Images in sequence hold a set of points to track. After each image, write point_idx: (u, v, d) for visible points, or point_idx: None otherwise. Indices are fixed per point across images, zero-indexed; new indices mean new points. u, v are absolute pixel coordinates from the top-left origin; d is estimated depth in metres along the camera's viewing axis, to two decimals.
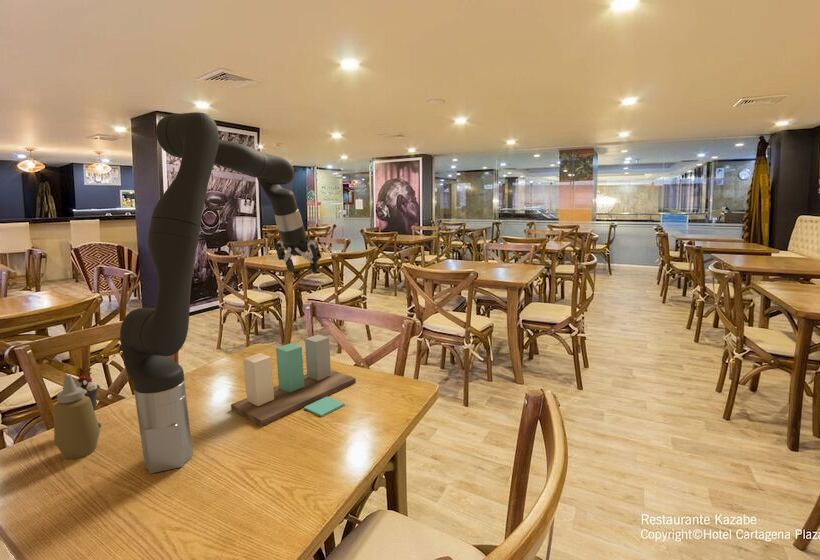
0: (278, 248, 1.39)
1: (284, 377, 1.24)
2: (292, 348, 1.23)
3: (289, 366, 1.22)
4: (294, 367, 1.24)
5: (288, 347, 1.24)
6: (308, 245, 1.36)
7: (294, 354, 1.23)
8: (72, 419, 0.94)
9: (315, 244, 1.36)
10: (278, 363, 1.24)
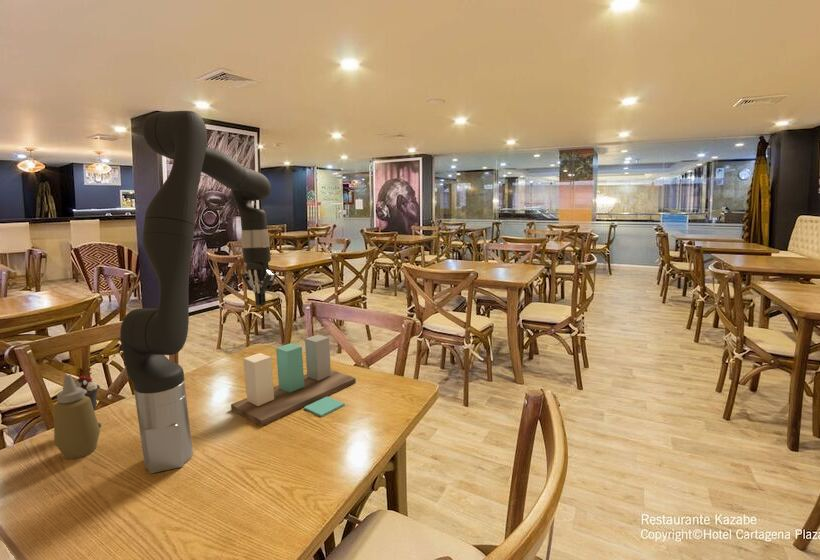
0: (245, 277, 1.30)
1: (284, 377, 1.24)
2: (292, 348, 1.23)
3: (289, 366, 1.22)
4: (294, 367, 1.24)
5: (288, 347, 1.24)
6: (266, 272, 1.26)
7: (294, 354, 1.23)
8: (72, 419, 0.94)
9: (272, 277, 1.26)
10: (278, 363, 1.24)
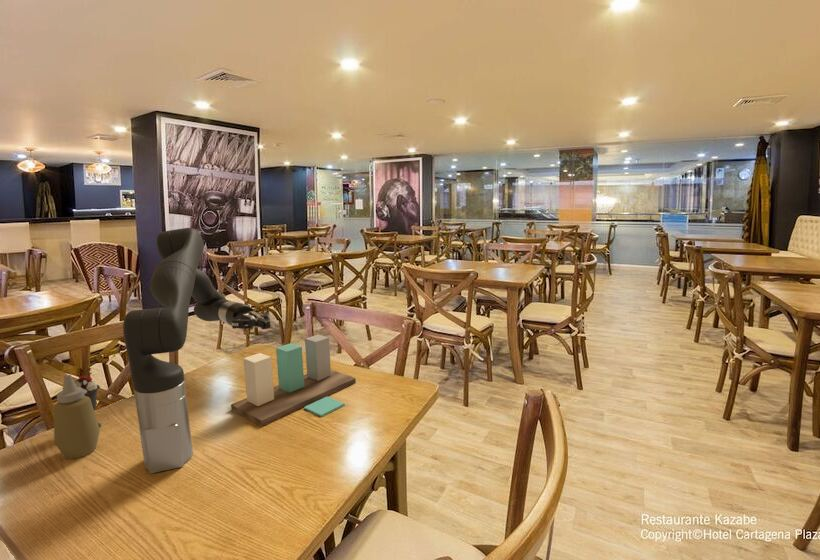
0: (238, 319, 1.31)
1: (284, 377, 1.24)
2: (292, 348, 1.23)
3: (289, 366, 1.22)
4: (294, 367, 1.24)
5: (288, 347, 1.24)
6: (262, 314, 1.39)
7: (294, 354, 1.23)
8: (72, 419, 0.94)
9: None
10: (278, 363, 1.24)
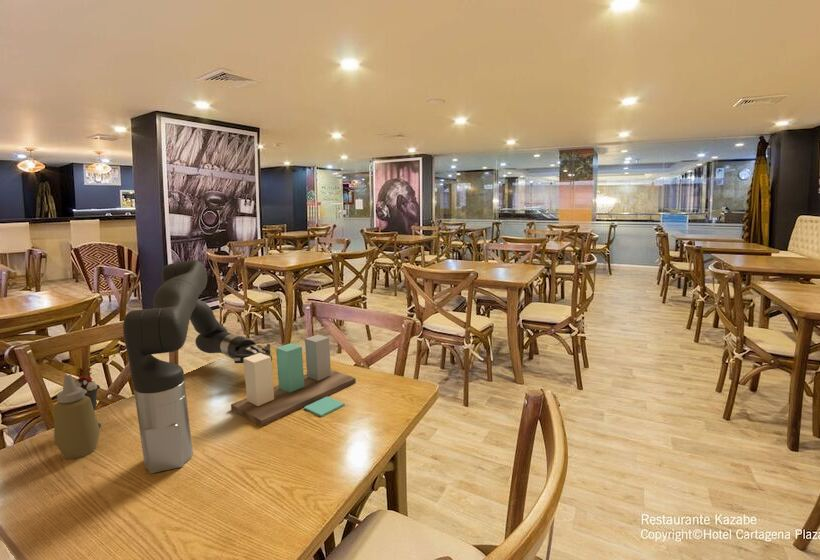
0: (240, 354, 1.33)
1: (284, 377, 1.24)
2: (292, 348, 1.23)
3: (289, 366, 1.22)
4: (294, 367, 1.24)
5: (288, 347, 1.24)
6: (263, 347, 1.41)
7: (294, 354, 1.23)
8: (72, 419, 0.94)
9: (270, 348, 1.41)
10: (278, 363, 1.24)
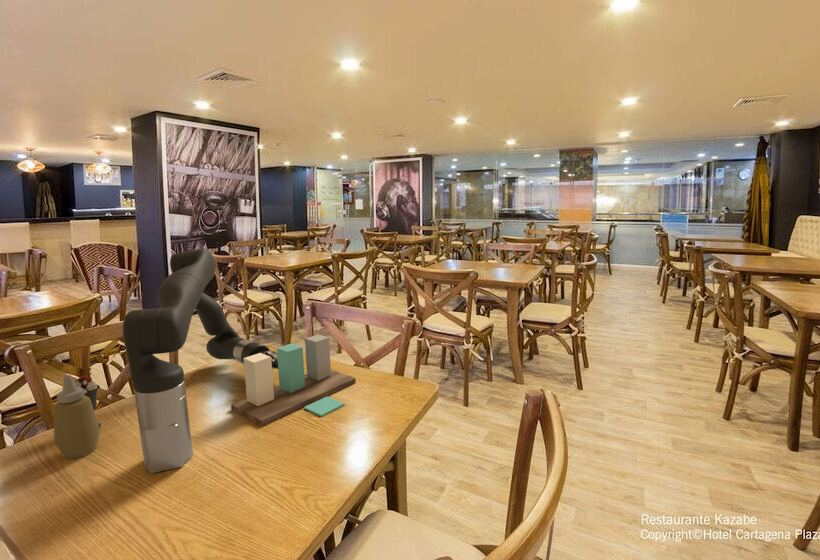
0: None
1: (285, 378, 1.23)
2: (293, 348, 1.23)
3: (290, 366, 1.22)
4: (295, 367, 1.23)
5: (289, 348, 1.24)
6: None
7: (295, 354, 1.23)
8: (72, 419, 0.94)
9: None
10: (279, 363, 1.24)
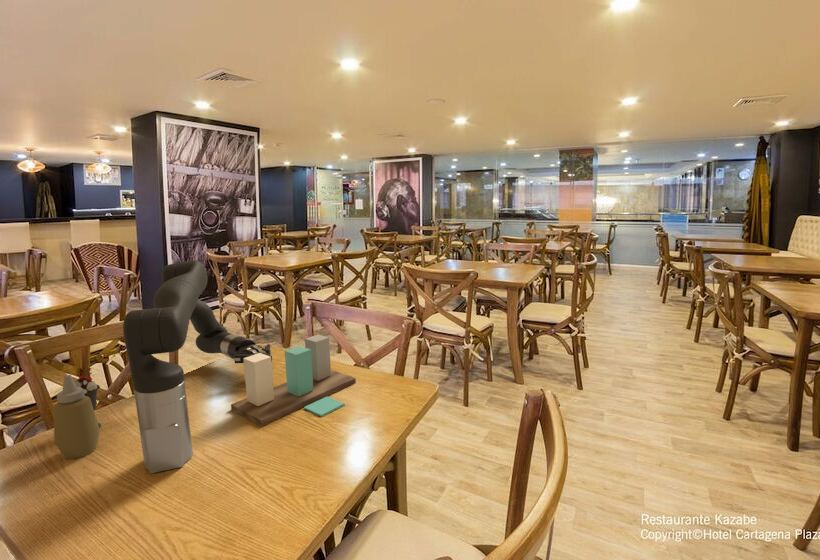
0: (240, 354, 1.33)
1: (293, 381, 1.21)
2: (301, 351, 1.21)
3: (298, 369, 1.20)
4: (303, 370, 1.21)
5: (297, 350, 1.21)
6: (263, 347, 1.41)
7: (303, 357, 1.21)
8: (72, 419, 0.94)
9: (270, 349, 1.41)
10: (287, 366, 1.22)
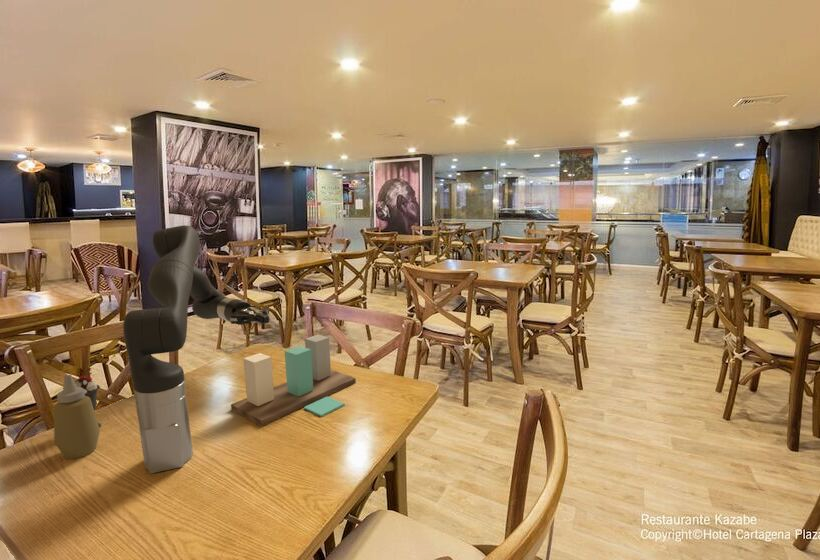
0: (236, 314, 1.31)
1: (293, 381, 1.21)
2: (301, 351, 1.21)
3: (298, 369, 1.20)
4: (303, 370, 1.21)
5: (297, 350, 1.21)
6: (260, 310, 1.39)
7: (303, 357, 1.21)
8: (72, 419, 0.94)
9: (267, 311, 1.39)
10: (287, 366, 1.22)
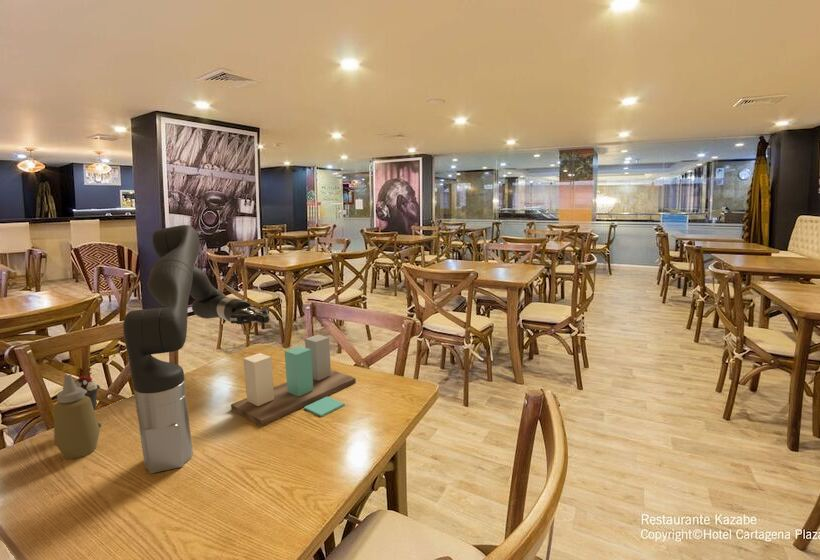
0: (236, 314, 1.31)
1: (293, 381, 1.21)
2: (301, 351, 1.21)
3: (298, 369, 1.20)
4: (303, 370, 1.21)
5: (297, 350, 1.21)
6: None
7: (303, 357, 1.21)
8: (72, 419, 0.94)
9: (267, 311, 1.39)
10: (287, 366, 1.22)
